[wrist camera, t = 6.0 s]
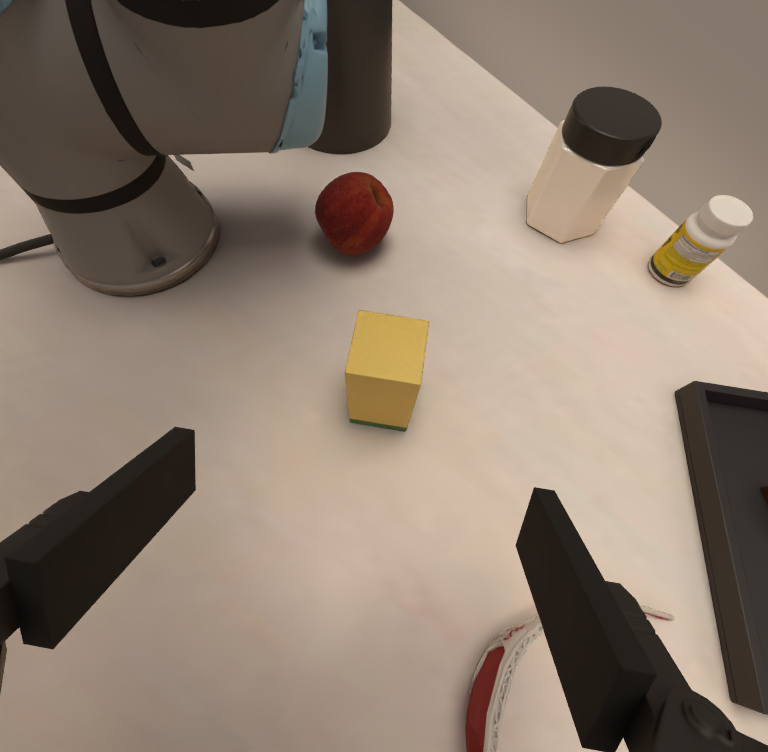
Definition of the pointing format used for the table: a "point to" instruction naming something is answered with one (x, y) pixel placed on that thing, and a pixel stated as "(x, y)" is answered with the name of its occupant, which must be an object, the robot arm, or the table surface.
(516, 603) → the table surface
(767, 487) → the brown square block
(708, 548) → the pan
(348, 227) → the apple
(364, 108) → the vase
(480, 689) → the sunglasses
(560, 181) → the jar
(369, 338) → the sponge
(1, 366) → the table surface
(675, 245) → the supplement bottle
